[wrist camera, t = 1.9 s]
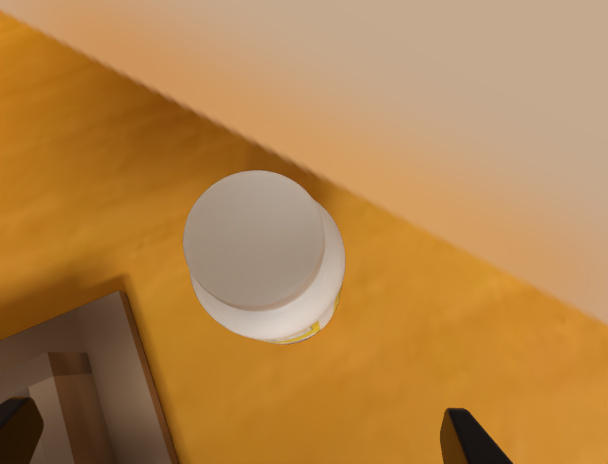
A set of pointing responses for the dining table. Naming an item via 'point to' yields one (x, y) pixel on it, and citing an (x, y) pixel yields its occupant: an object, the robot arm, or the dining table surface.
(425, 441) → the dining table surface
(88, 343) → the socket holder
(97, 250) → the dining table surface
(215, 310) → the supplement bottle
